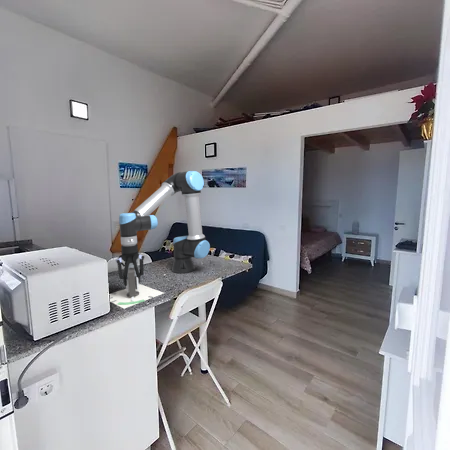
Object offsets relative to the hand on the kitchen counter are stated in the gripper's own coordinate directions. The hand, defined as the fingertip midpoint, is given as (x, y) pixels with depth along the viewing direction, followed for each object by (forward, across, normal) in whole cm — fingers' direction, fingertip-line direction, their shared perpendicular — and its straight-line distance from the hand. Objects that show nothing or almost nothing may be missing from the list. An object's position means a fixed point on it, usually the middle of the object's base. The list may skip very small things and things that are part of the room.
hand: (132, 290), depth 127 cm
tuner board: (+4, 0, 0) cm, 4 cm away
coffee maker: (+4, +9, +36) cm, 37 cm away
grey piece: (+2, -1, -2) cm, 3 cm away
